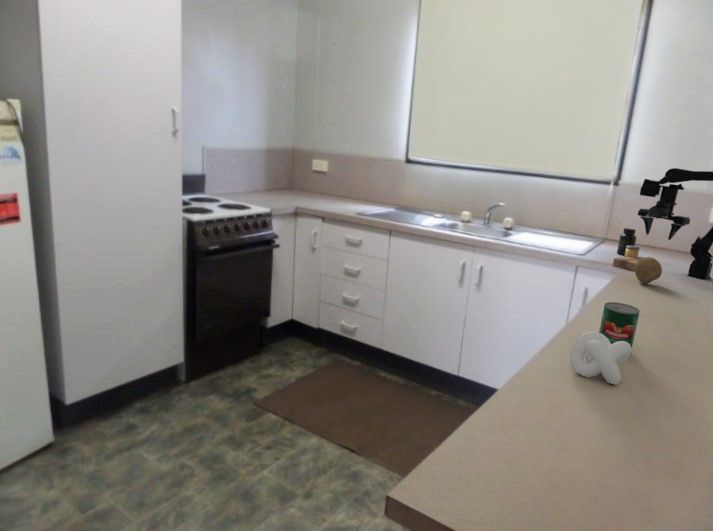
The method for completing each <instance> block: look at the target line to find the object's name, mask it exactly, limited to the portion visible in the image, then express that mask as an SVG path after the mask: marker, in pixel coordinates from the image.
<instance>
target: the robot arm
mask: <svg viewBox="0 0 713 531" xmlns="http://www.w3.org/2000/svg"><path fill="white" fill-rule="evenodd" d="M691 181H695V182H698V181H700V182H704V181H705V182H713V171H709V170H706V171H699V170H689V169H684V168H679V167H678V168H677V167H672V168H670V169H668V170H667V171H665V173H664V177H663V176H662V177H661V179H660V180H653V179H648V178H645V179H643V182H642V185H641V187H640V192H639V196H643V197H650V198H656V197H657V196H659V200H657V201H656V204H655V205H653V206H651V207H650V208H640V209H639V210H638V211H637V216H640V219H642V221H643V223H644V227H645V228H644V229H645V234H646V235H650V232H651V230H652V229H651V228H652V225H653V222H654V219H662V220H663V219H664V220H668V221H672V222H673V223H671V224H670V225H671V226H670V227H671V228H670V231H669V234H668V241H670V240H672V239H673V237H674V236H675V235H676V234H677V232H678V231H679V230H680V229H681V228H682V227H685V226H686V225H690V223H691V218H690V217H689V216H683V215H674V214H675V213H674V208H675V206H677V204H678V203H677V202H676V201H677V197H678V193H679V190H680V191H684V190H685V187H684V186H683V184H682V182H683V183H684V182H691ZM669 183H670V184H669ZM676 183H677V184H676ZM665 184H669V185H665ZM712 245H713V226H712V227H710V229H709V230H708V231H707V232H706V233H705V234H704V235H703V236H700V235H699V236H697V237H696V239H695V241H694V242H692V243H691V245H690V250H689V251H690V255H691V256H692V257H693V258H694V259H692V261H691V263H690V265H689V269H688V273H687V276H689V277H693V278H696V279H700V280H708V279H712V276H711V272H712V268H713V263H712V260H713V255H712V254H711V253H710V249H711V247H712Z"/></svg>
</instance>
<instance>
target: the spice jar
mask: <svg viewBox="0 0 713 531" xmlns="http://www.w3.org/2000/svg"><path fill="white" fill-rule="evenodd" d="M640 249H641V247H640V246H636V245H635V246H631V245H627V246H626V251H625V256H624V255H623V257H630V258H634V259H639V258H638V257H639V251H640Z"/></svg>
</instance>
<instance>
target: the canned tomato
mask: <svg viewBox="0 0 713 531" xmlns="http://www.w3.org/2000/svg"><path fill="white" fill-rule="evenodd" d="M603 307H604V308H603V311H602V317H601V322H600V326H599V331H598V332H599V333H601V334H603V335H604V336H606V337H607V338H608V340H609V341H610V343H611V345H612V344H613V343H615V342H618V341H625V342H628V343H629V344H630V346H631V349H632V350H633V344H634V340H635V335H636V331H637V326H638V321H639V317H640V316H639V315H640V312H641V311H640V309H639V308H638V307H636V306H633V305H629V304H626V303H622V302H613V301H610V302H605V303H604V306H603Z"/></svg>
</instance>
